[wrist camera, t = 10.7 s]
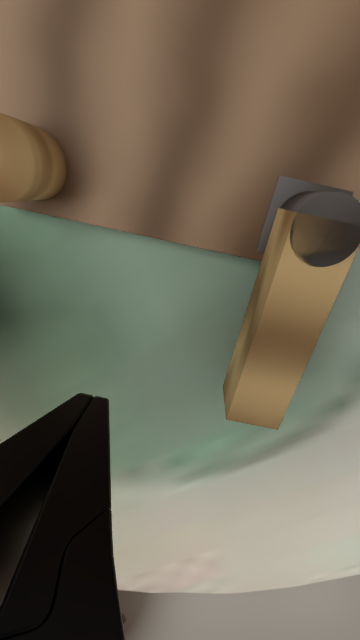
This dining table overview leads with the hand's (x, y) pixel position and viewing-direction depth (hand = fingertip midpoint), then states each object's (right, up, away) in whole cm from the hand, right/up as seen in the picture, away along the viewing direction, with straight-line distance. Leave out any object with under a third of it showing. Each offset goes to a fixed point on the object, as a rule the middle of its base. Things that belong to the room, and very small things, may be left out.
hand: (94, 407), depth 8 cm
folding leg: (+8, +3, +10) cm, 13 cm away
